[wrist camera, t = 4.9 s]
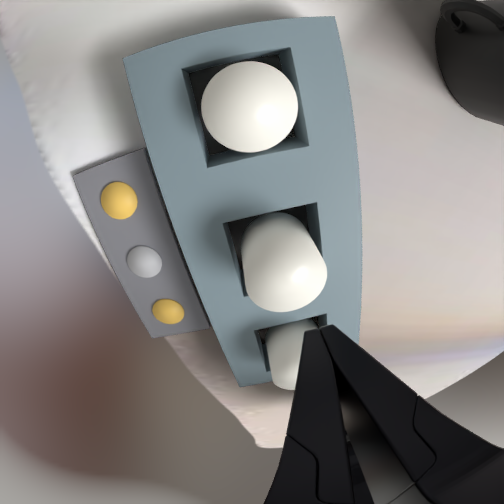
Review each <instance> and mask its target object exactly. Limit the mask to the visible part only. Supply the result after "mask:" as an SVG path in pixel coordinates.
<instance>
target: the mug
mask: <svg viewBox="0 0 504 504" xmlns="http://www.w3.org/2000/svg"><path fill="white" fill-rule="evenodd" d="M440 12H441V14H442V16H441V17H440V20H439V22H438V25H437V29H436V50H437V56H438V61H439V65H440V68H441V71H442V74H443V77H444V79H445V81H446V84H447V86H448V88H449V89H450V91H451V93H452V94H453V96H454V97H455V99H456V100H457V101H458V102H459V103H460V105H461V106H462V107H463V108H464V109H466V110H467V111H468V112H469V113H470V114H472V115H474V116H475V117H478V118H481V119H484V120H487V121H491V122H494V123H497V124H500V125H503V126H504V0H486V1H476V0H445V1H444V2H443V3H442V6H441V9H440Z"/></svg>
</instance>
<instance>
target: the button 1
mask: <svg viewBox="0 0 504 504" xmlns="http://www.w3.org/2000/svg"><path fill="white" fill-rule="evenodd" d="M201 111H202V117H203V120H204V123H205V126H206V128H207V129H208V131H209V132H210V134H211V135H212V136H213V137H214V138H215V139H216V140H217V141H218V142H219V143H221V144H222V145H224V146H226V147H228V148H230V149H232V150H235V151H240V152H259V151H263V150H266V149H269V148H271V147H273V146H275V145H277V144H278V143H279V142H281V141H282V140H283V139H284V138H285V137H286V136H287V135H288V134H289V132H290V131H291V129H292V128H293V126H294V123H295V121H296V117H297V112H298V101H297V96H296V92H295V90H294V88H293V86H292V84H291V82H290V81H289V80H288V78H287V77H286V76H285V75H284V74H283V73H282V72H280V71H279V70H277V69H276V68H274V67H272V66H270V65H268V64H265V63H261V62H254V61H246V62H239V63H235V64H232V65H230V66H227V67H226V68H224V69H222V70H221V71H219V72H218V73H217V74H216V75H215V76H214V77H213V78H212V79H211V80H210V82H209V83H208V85H207V87H206V89H205V91H204V94H203V97H202V104H201Z"/></svg>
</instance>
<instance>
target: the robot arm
mask: <svg viewBox="0 0 504 504" xmlns="http://www.w3.org/2000/svg"><path fill="white" fill-rule="evenodd" d="M286 435H287V436H286V437H285V441H284V446H283V451H282V454H281V458H280V462H279V466H278V469H277V471H276V474H275V477H274V480H273V482H272V485H271V488H270V490H269V492H268V495H267V497H266V499H265V502H264V504H504V448H501V447H498V446H496V445H493V444H491V443H490V442H488V441H486V440H484V439H482V438H481V437H479V436H478V435H476V434H474V433H473V432H471V431H469V430H468V429H466V428H464V427H463V426H461V425H459V424H458V423H456V422H455V421H453V420H452V419H450V418H449V417H447V416H446V415H444V414H442V413H441V412H440V411H439V410H437V409H436V408H435V407H433V406H432V405H430V404H429V403H428V402H427V401H426V400H425V399H423V398H422V397H421V396H420V395H418V396H417V393H416V392H415V391H414V390H412V389H411V388H410V387H409V386H407V385H406V384H405V383H404V382H403V381H401V380H400V379H399V378H398V377H397V376H395V375H394V374H393V373H392V372H390V371H389V370H388V369H387V368H386V367H384V366H383V365H382V364H381V363H380V362H378V361H377V360H376V359H375V358H374V357H372V356H371V355H370V354H369V353H367V352H366V351H365V350H364V349H363V348H361V347H360V346H359V345H358V344H357V343H355V342H354V341H353V340H352V339H351V338H349V337H348V336H347V335H346V334H345V333H343V332H342V331H341V330H340V329H339V328H337V327H336V326H335V325H333V324H330V325H326V326H322V327H320V328H319V329H318V328H314V329H310V330H306V331H305V332H304V335H303V342H302V349H301V355H300V362H299V368H298V374H297V380H296V385H295V391H294V397H293V402H292V407H291V413H290V418H289V423H288V428H287V433H286Z"/></svg>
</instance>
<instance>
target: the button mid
mask: <svg viewBox="0 0 504 504" xmlns="http://www.w3.org/2000/svg"><path fill="white" fill-rule="evenodd" d="M241 254H242V262H243V270H244V278H245V286H246V291H247V293H248V295H249V297H250V299H251V300H252V301H253V302H254V303H255V304H256V305H258V306H259V307H261V308H263V309H265V310H268V311H273V312H288V311H293V310H297V309H299V308H302V307H304V306H306V305H307V304H309V303H310V302H312V301H313V300H314V299H315V298H316V297H317V296H318V295H319V294H320V293H321V291H322V289H323V288H324V286H325V283H326V279H327V267H326V264H325V262H324V260H323V258H322V256H321V254H320V253H319V251H318V249H317V247H316V245H315V244H314V242H313V240H312V238H311V236H310V235H309V233H308V231H307V229H306V228H305V226H304V225H303V223H302V222H301V221H300V220H299V219H297V218H296V217H294V216H292V215H290V214H287V213H281V212H274V213H268V214H265V215H262V216H260V217H258V218H257V219H255V220H254V221H252V222H251V223H250V224H249V225H248V227H247V228H246V229H245V231H244V233H243V235H242V238H241Z"/></svg>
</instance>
